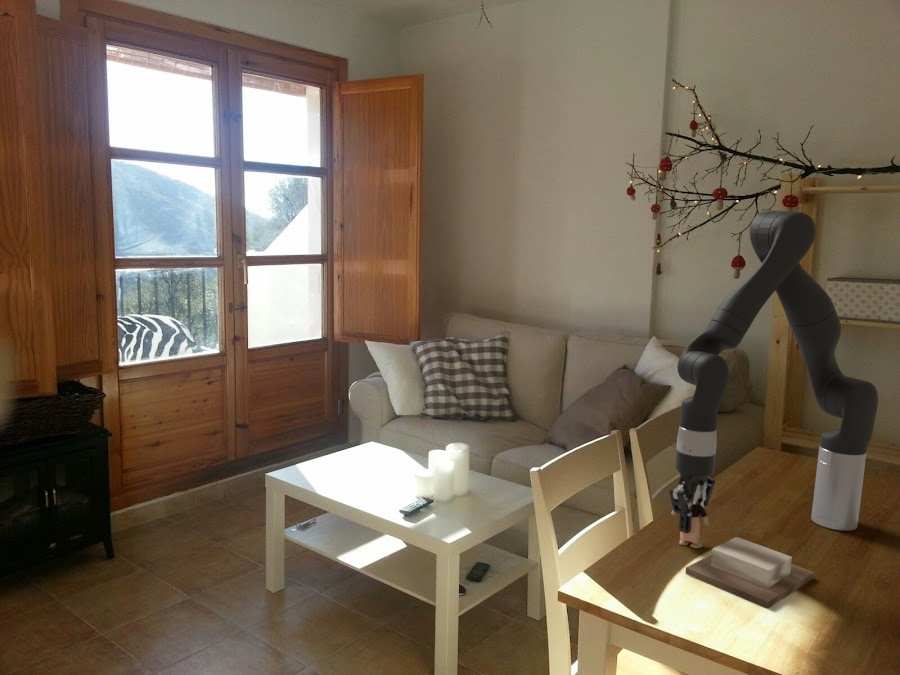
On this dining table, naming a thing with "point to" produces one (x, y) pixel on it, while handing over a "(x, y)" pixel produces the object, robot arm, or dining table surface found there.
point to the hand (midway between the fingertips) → (689, 529)
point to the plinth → (748, 586)
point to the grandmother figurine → (694, 525)
